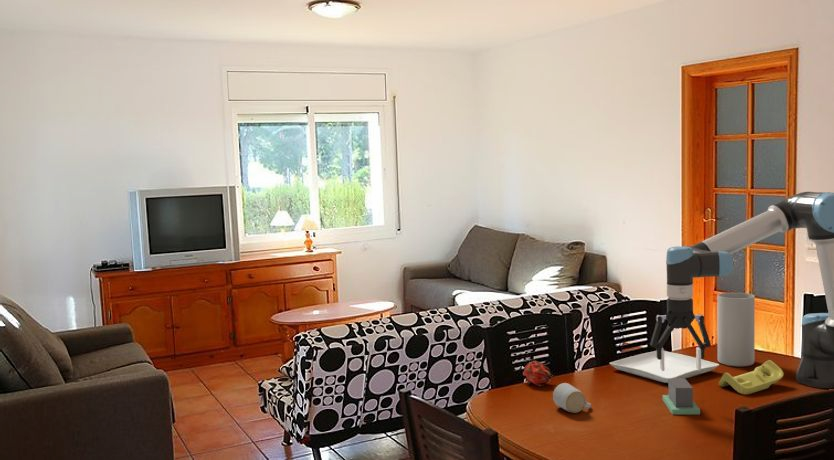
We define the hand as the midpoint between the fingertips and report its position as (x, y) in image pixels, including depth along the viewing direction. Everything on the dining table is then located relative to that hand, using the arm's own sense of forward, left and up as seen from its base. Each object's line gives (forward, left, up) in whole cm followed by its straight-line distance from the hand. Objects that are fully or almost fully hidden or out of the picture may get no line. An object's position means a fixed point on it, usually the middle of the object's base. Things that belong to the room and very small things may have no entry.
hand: (680, 369), depth 233 cm
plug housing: (0, -2, -10) cm, 10 cm away
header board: (0, 0, -12) cm, 12 cm away
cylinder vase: (-31, -50, -12) cm, 60 cm away
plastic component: (-27, -20, -12) cm, 36 cm away
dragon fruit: (+42, -25, -12) cm, 50 cm away
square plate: (-3, -39, -12) cm, 41 cm away
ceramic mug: (+33, +2, -12) cm, 35 cm away
